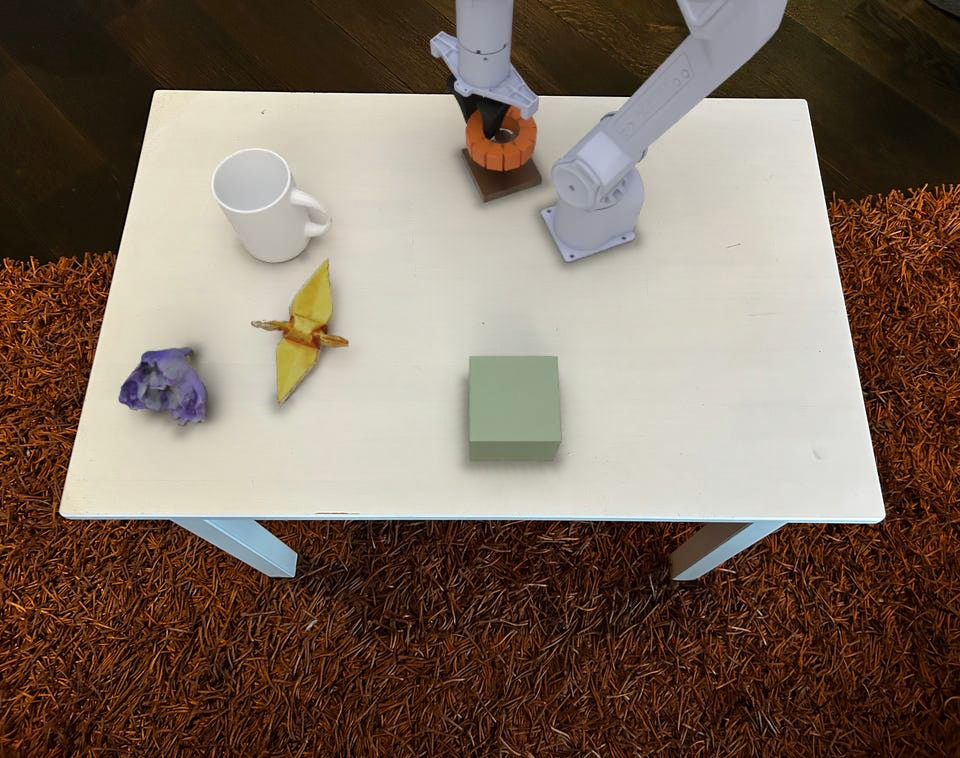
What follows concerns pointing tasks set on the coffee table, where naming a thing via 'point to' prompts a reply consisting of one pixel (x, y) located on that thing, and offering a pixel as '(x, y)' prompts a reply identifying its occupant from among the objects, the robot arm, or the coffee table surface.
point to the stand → (501, 173)
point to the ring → (505, 153)
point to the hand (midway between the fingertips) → (482, 128)
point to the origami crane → (304, 331)
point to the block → (514, 408)
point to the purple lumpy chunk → (166, 385)
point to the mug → (266, 204)
